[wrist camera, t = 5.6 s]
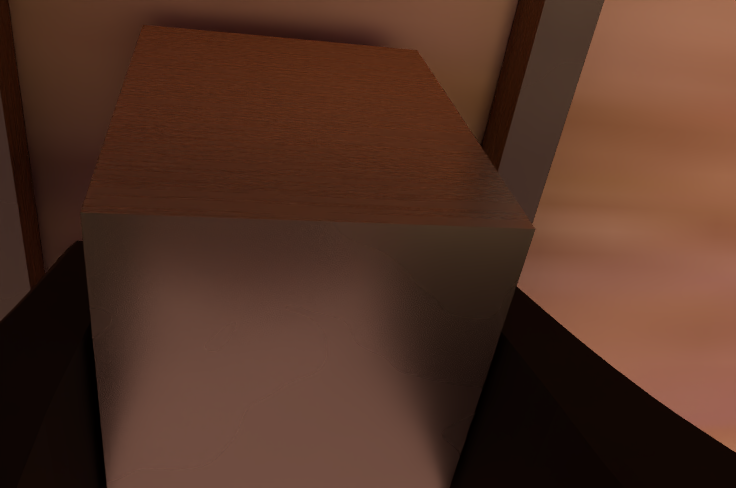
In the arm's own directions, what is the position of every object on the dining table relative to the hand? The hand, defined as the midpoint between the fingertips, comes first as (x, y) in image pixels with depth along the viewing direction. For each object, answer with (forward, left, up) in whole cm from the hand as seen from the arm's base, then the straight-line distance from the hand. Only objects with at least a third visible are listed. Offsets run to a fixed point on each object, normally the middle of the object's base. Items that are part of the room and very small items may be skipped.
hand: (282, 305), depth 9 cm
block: (0, +1, -3) cm, 3 cm away
